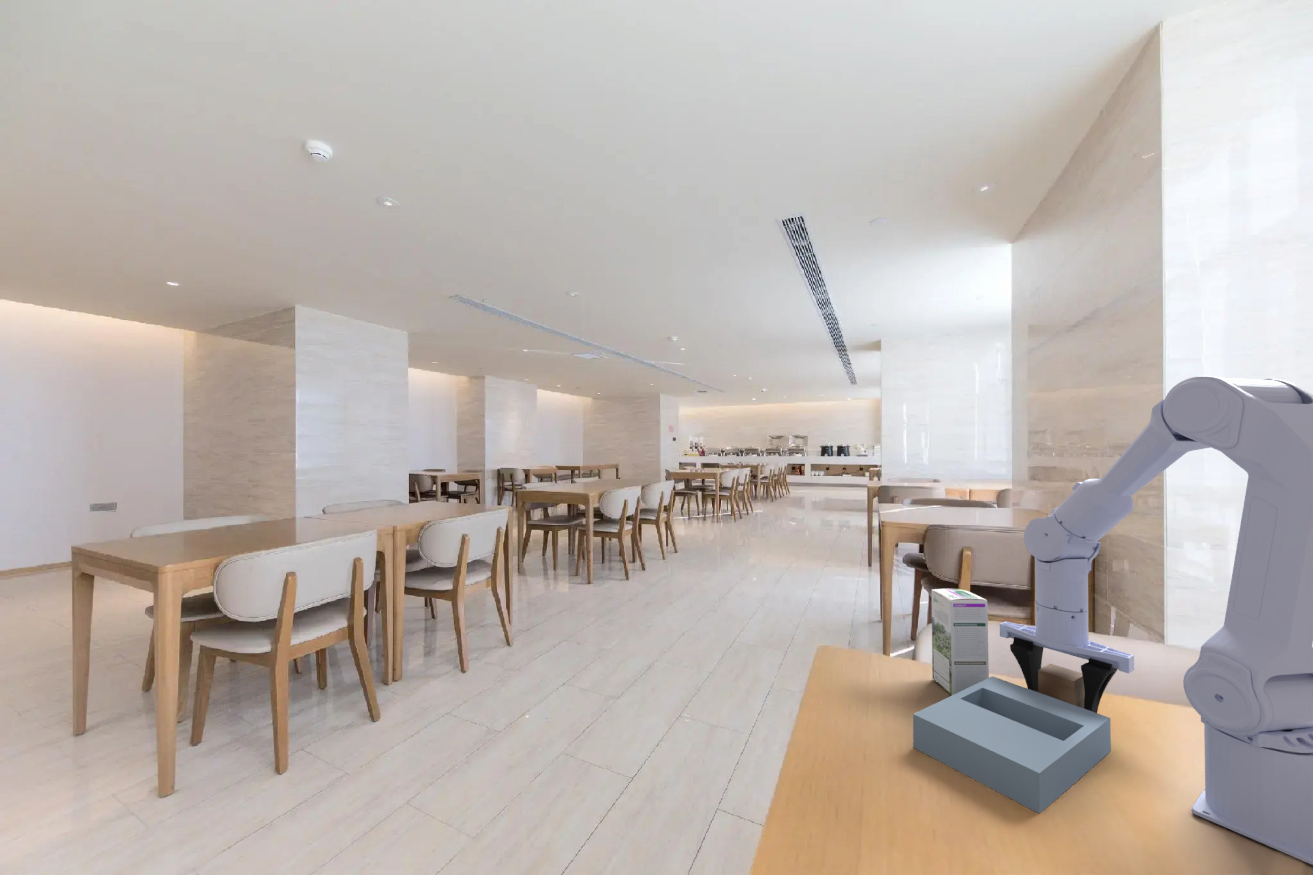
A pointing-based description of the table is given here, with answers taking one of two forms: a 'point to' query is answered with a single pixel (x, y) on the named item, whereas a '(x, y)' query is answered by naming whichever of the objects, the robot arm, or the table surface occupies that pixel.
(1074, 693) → the walnut block
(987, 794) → the table surface
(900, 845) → the table surface
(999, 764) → the well stand
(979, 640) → the syrup box
